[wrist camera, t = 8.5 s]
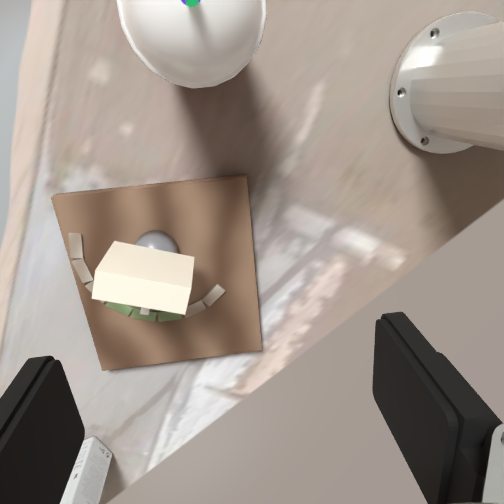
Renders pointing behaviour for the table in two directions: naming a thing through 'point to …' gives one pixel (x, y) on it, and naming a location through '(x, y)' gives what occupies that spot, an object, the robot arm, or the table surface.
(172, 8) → the smoothie
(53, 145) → the table surface
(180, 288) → the pointer knob
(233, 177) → the tuner board
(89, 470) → the skincare box
